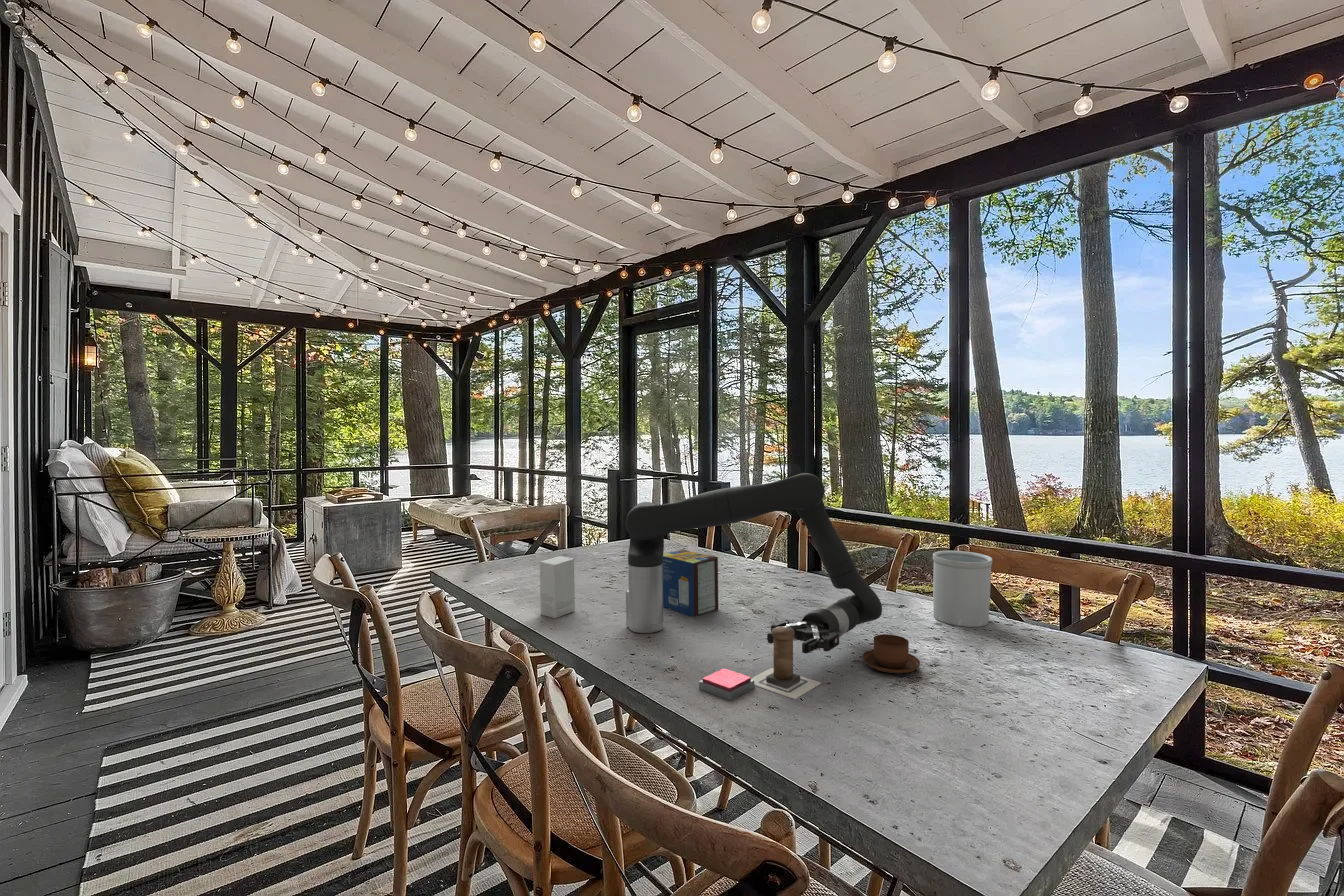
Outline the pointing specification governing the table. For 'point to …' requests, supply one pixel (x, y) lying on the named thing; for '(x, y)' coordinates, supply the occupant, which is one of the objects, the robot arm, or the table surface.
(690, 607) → the protein box
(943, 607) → the utensil holder
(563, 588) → the skincare box
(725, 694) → the ink pad
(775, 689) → the sheet
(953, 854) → the table surface
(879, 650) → the cup and saucer
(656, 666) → the table surface
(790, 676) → the stamp
